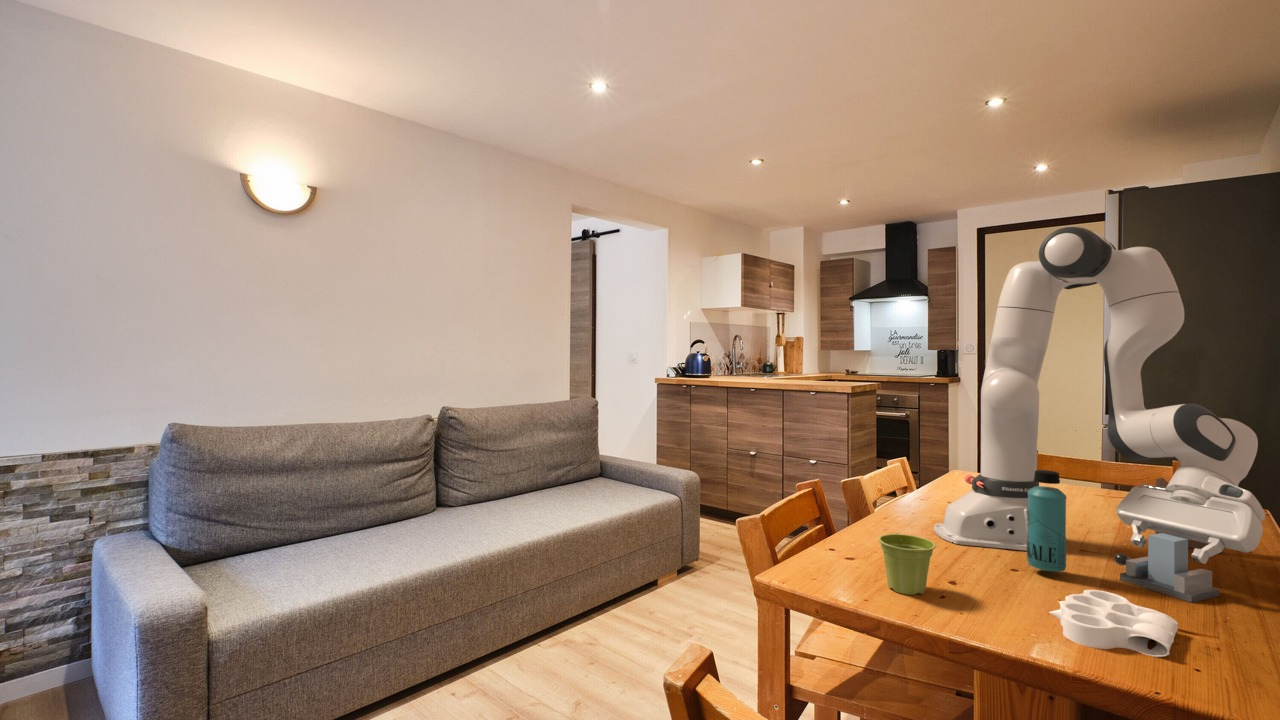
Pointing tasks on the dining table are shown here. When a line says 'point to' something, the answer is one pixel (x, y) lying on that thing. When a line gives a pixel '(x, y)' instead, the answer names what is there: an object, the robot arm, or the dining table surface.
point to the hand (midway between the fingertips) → (1165, 552)
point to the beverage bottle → (1046, 524)
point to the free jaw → (1133, 565)
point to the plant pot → (906, 562)
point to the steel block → (1166, 557)
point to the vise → (1180, 585)
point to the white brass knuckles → (1114, 623)
